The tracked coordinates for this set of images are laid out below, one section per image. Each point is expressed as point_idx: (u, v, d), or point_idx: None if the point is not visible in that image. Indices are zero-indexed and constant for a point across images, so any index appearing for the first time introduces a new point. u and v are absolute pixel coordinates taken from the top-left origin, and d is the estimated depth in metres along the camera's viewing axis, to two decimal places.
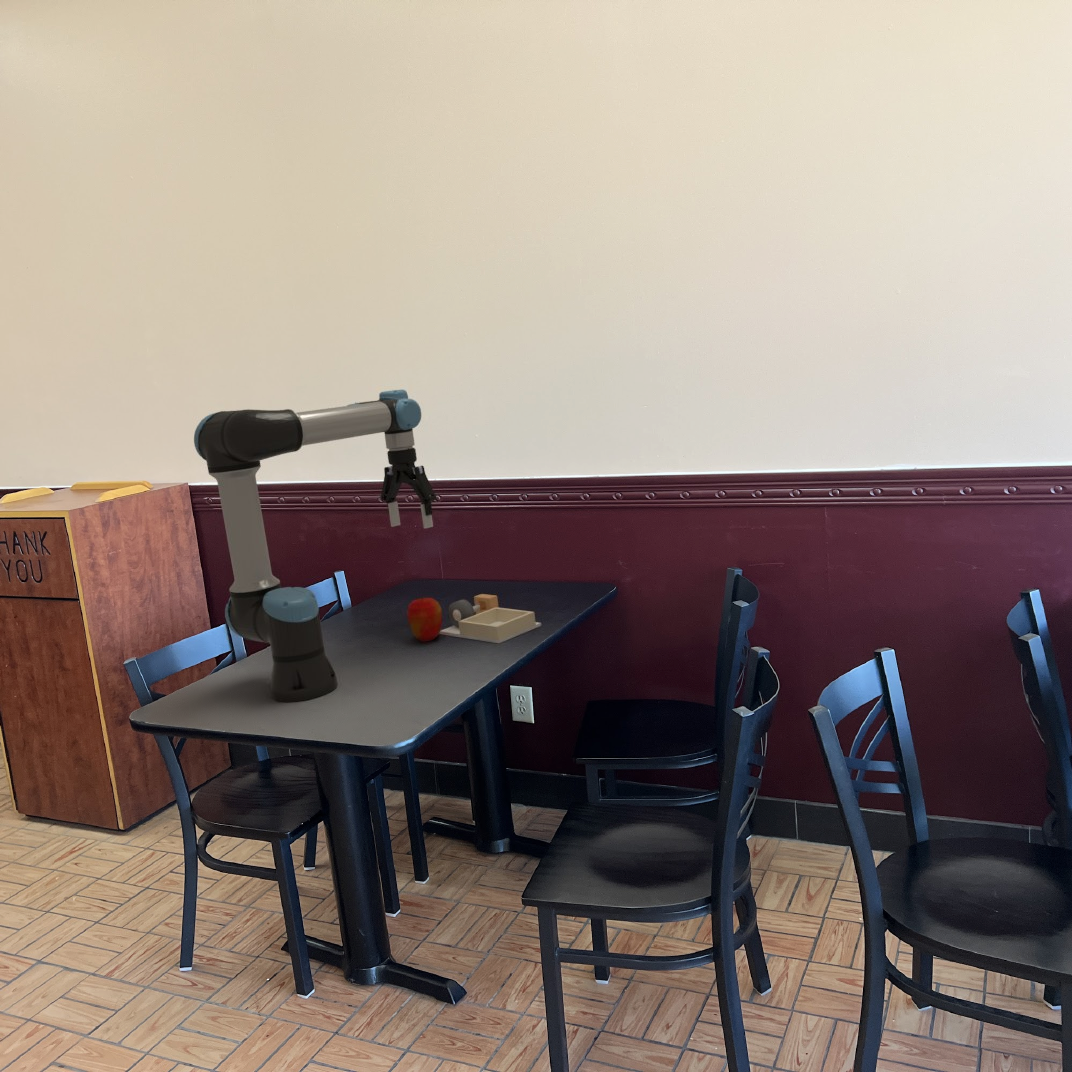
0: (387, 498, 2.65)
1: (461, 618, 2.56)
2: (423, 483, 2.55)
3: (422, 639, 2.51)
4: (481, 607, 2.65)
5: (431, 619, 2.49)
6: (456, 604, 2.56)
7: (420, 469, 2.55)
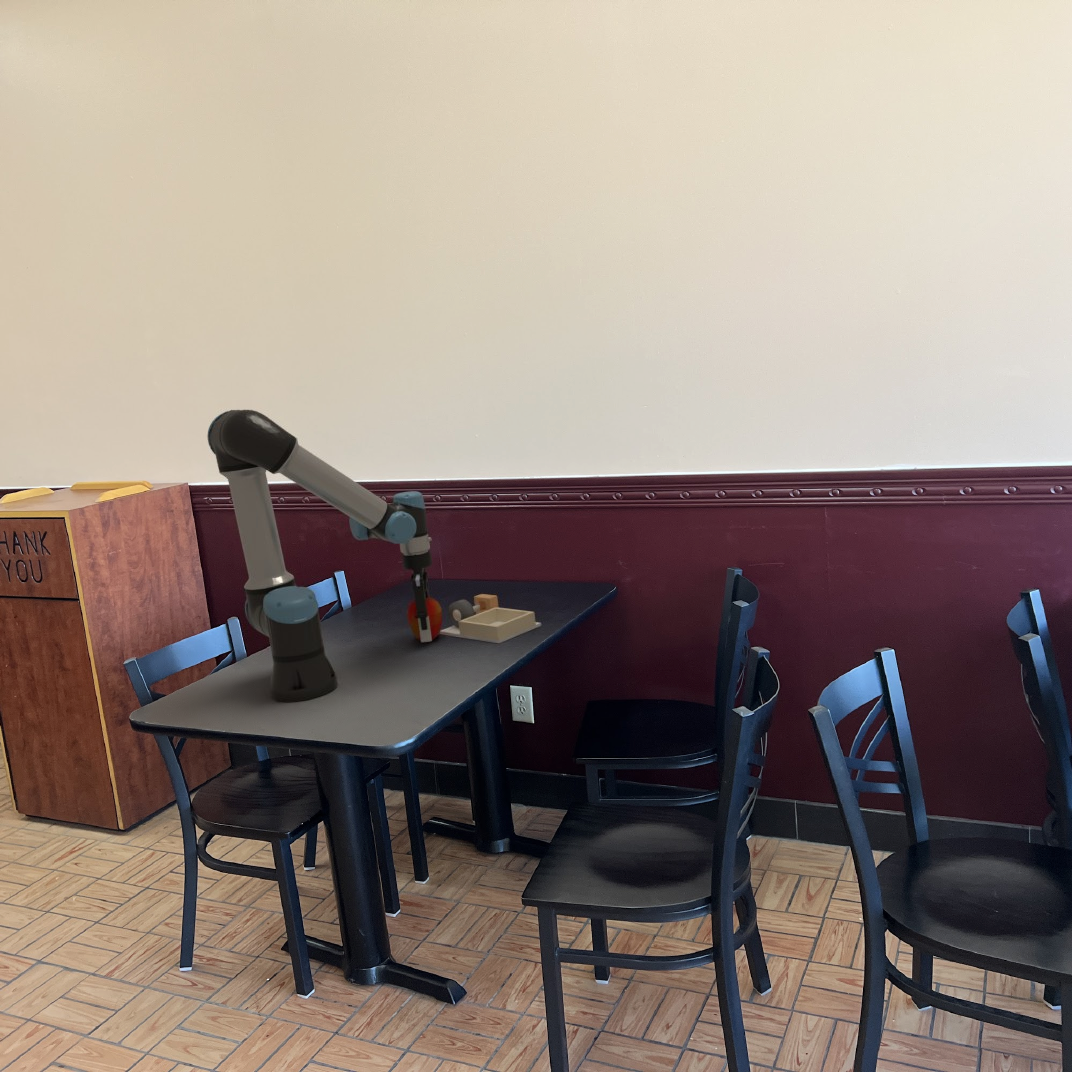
0: None
1: (461, 618, 2.56)
2: (416, 597, 2.44)
3: None
4: (481, 607, 2.65)
5: (431, 619, 2.49)
6: (456, 604, 2.56)
7: (417, 582, 2.44)
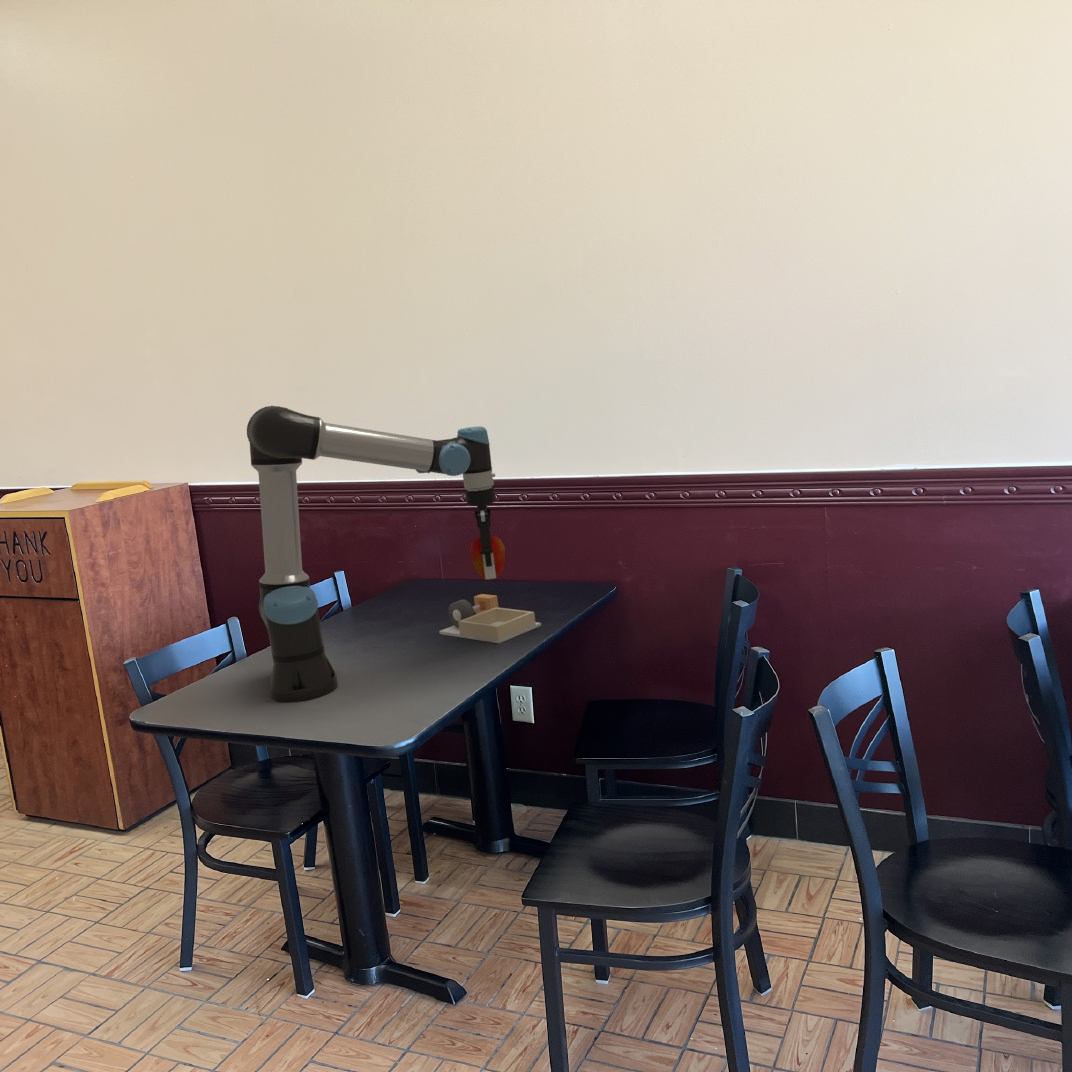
0: None
1: (461, 618, 2.56)
2: (481, 533, 2.41)
3: None
4: (481, 607, 2.65)
5: (495, 556, 2.45)
6: (456, 604, 2.56)
7: (482, 517, 2.41)
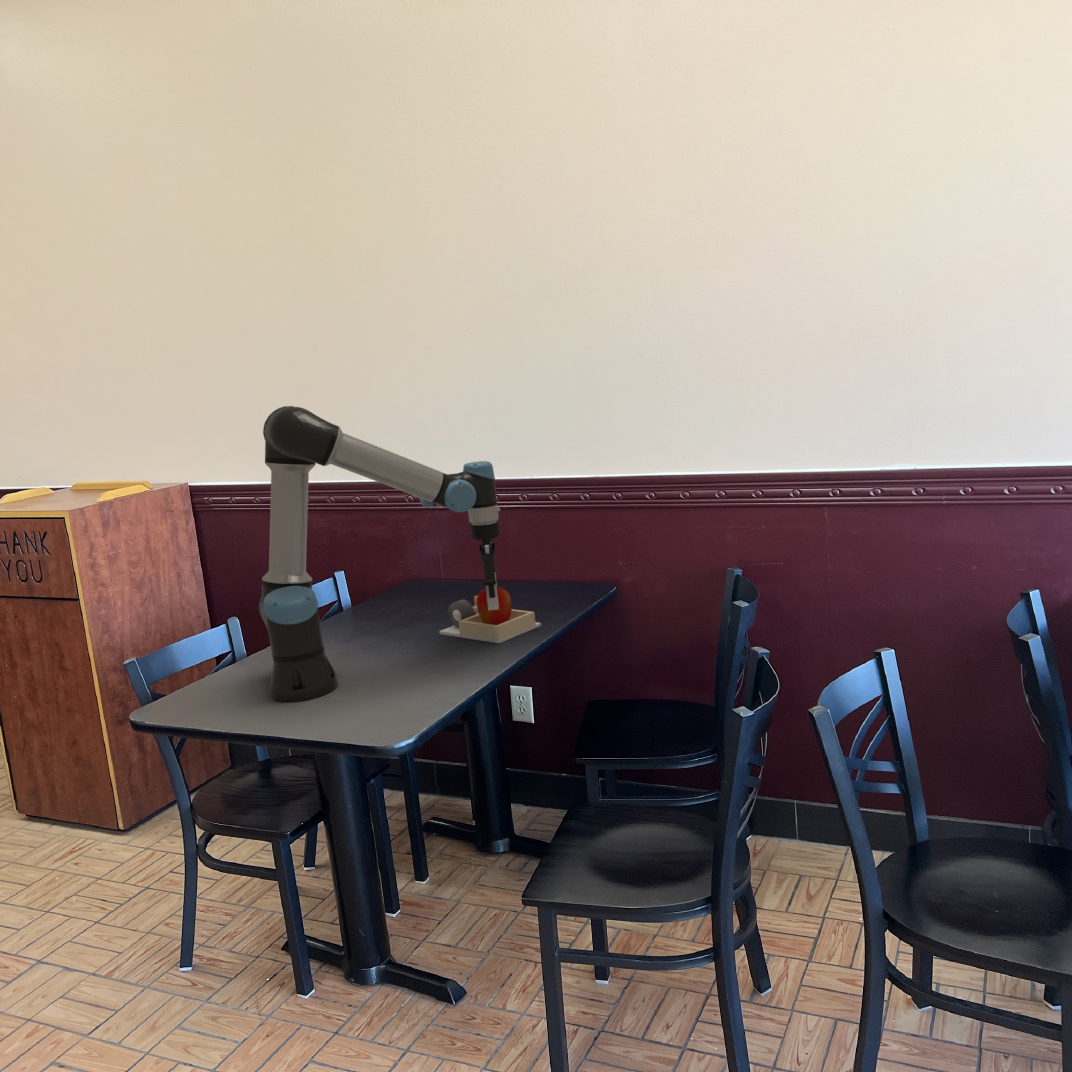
0: None
1: (461, 618, 2.56)
2: (485, 564, 2.41)
3: None
4: None
5: (501, 608, 2.48)
6: (456, 604, 2.56)
7: (486, 548, 2.42)
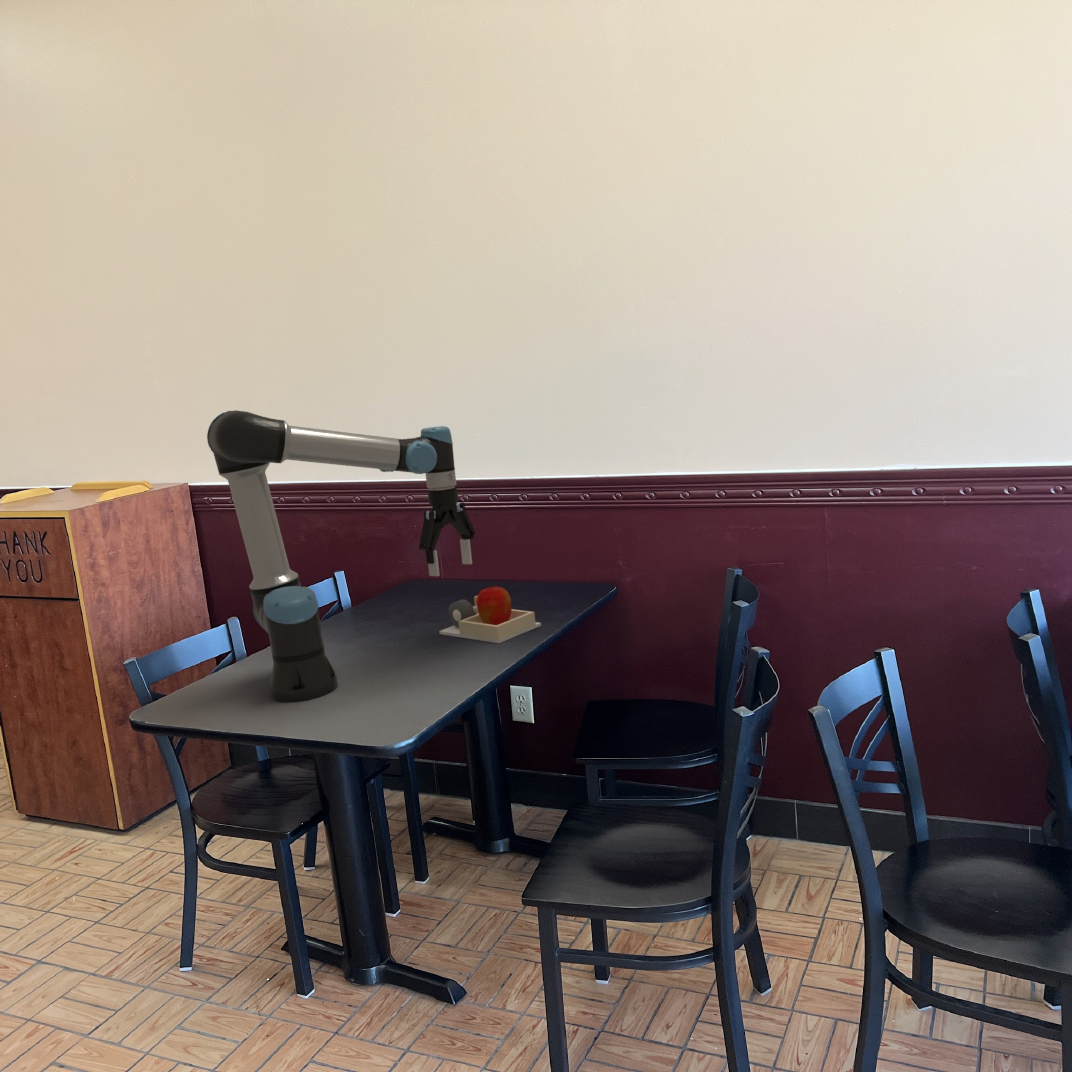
0: None
1: (461, 618, 2.56)
2: (423, 529, 2.42)
3: None
4: None
5: (501, 608, 2.48)
6: (456, 604, 2.56)
7: (427, 514, 2.42)
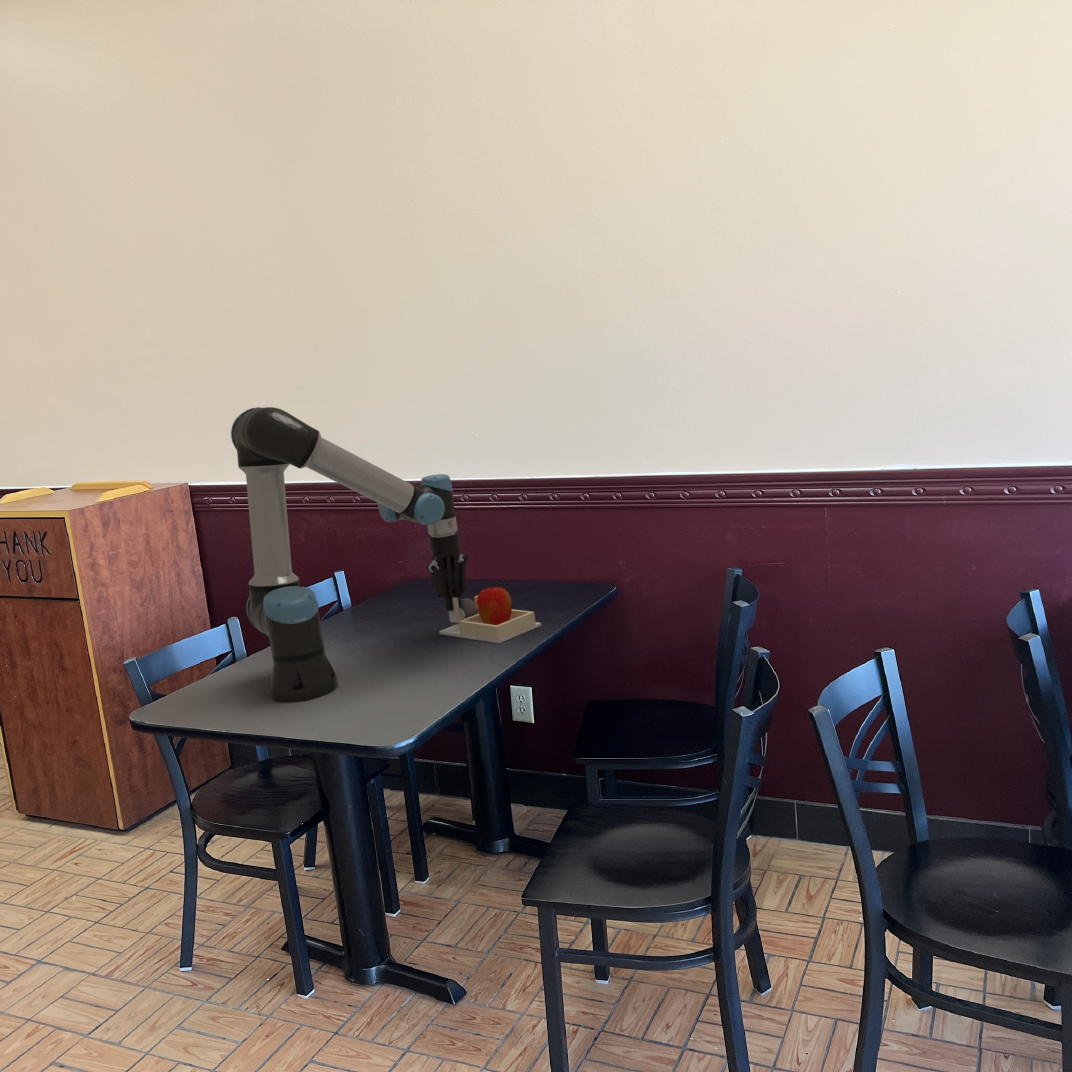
0: None
1: (465, 617, 2.57)
2: (434, 582, 2.52)
3: None
4: None
5: (501, 608, 2.48)
6: (460, 603, 2.57)
7: (430, 570, 2.49)
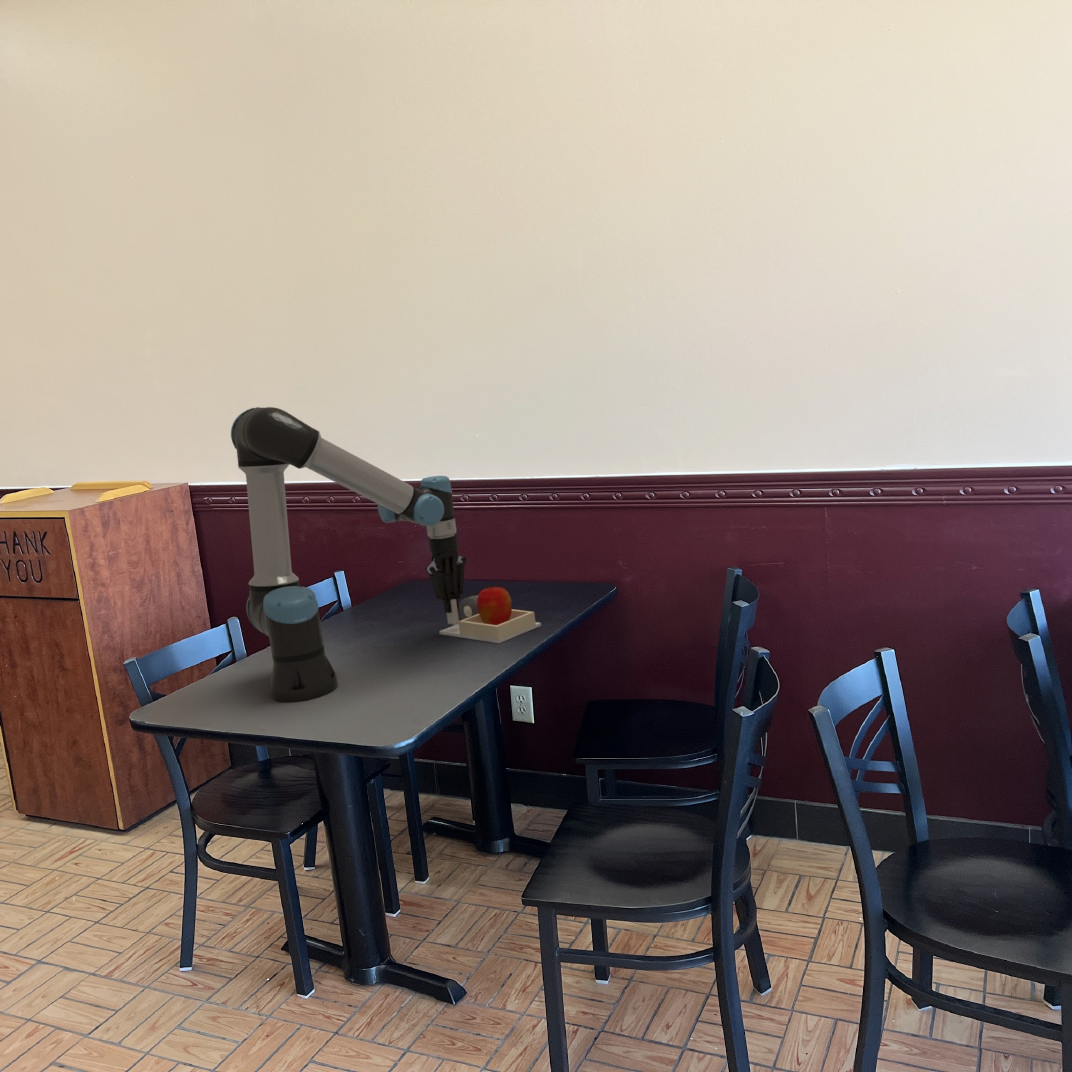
0: None
1: (472, 614, 2.59)
2: (432, 583, 2.51)
3: None
4: None
5: (501, 608, 2.48)
6: (467, 600, 2.59)
7: (429, 571, 2.49)
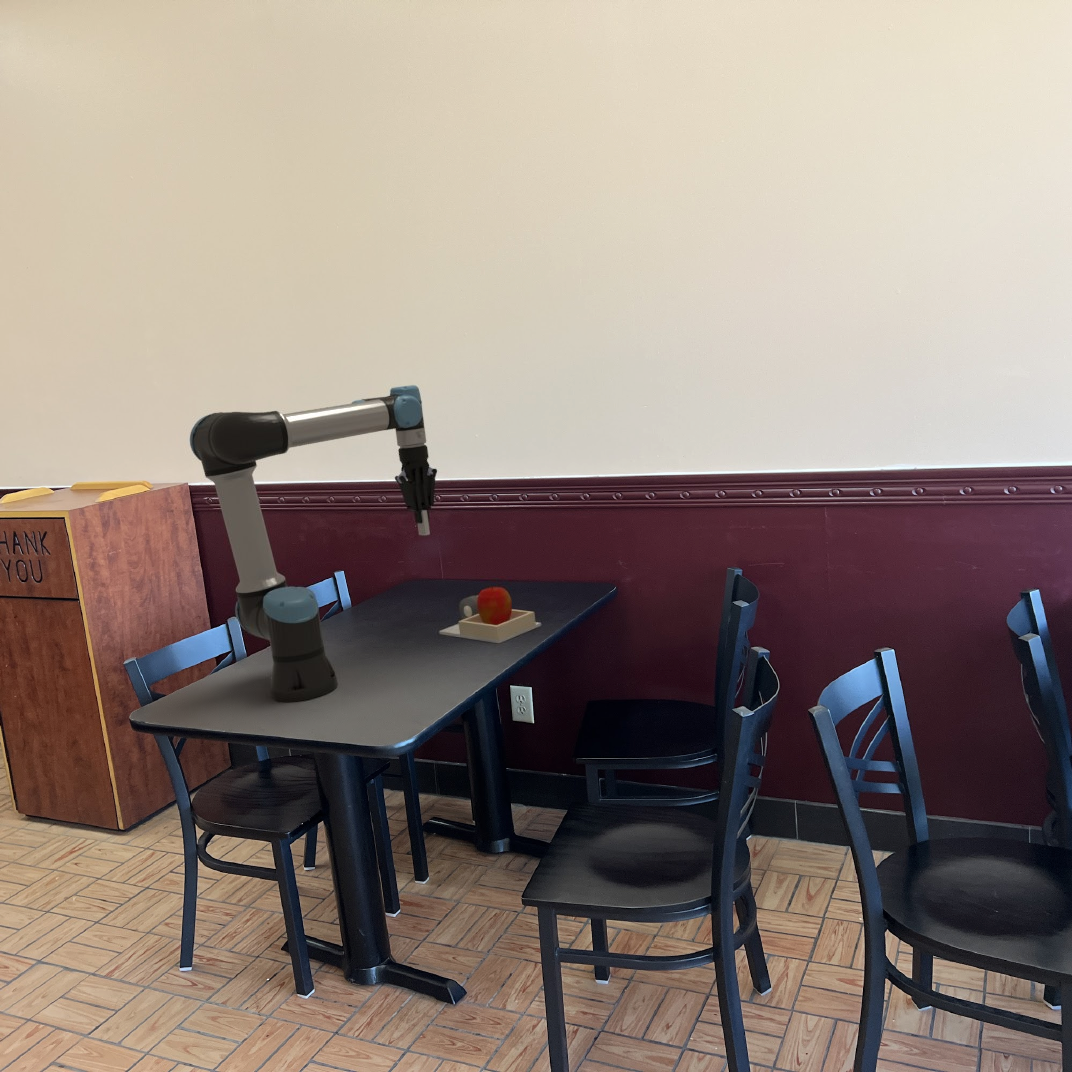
0: None
1: (472, 614, 2.59)
2: (402, 493, 2.52)
3: None
4: None
5: (501, 608, 2.48)
6: (467, 600, 2.59)
7: (398, 480, 2.50)
